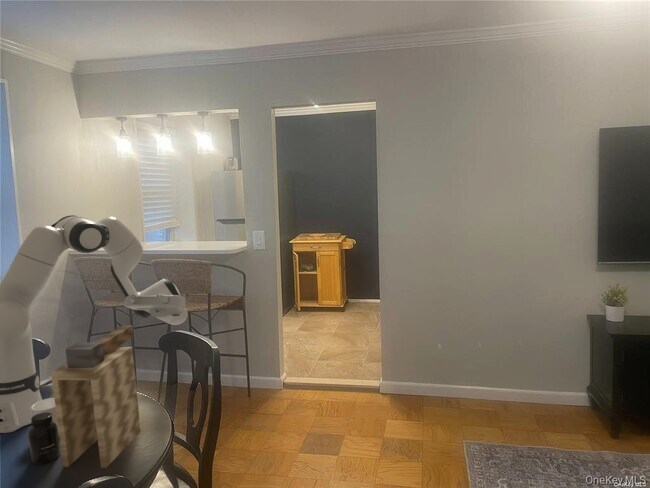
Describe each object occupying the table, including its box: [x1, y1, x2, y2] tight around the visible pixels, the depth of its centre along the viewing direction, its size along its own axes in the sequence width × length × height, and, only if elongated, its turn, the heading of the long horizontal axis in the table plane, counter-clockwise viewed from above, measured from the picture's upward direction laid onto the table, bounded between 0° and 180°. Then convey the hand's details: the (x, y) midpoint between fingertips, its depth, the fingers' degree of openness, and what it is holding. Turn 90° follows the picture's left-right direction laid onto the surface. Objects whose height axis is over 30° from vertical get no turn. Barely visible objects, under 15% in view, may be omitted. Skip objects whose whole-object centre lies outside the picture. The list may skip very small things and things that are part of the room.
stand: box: [50, 346, 142, 469], centre depth 129 cm, size 18×12×26 cm, turn 174°
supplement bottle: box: [27, 412, 61, 465], centre depth 127 cm, size 7×7×12 cm
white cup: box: [31, 397, 59, 436], centre depth 138 cm, size 8×8×10 cm
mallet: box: [65, 324, 135, 368], centre depth 133 cm, size 24×7×5 cm, turn 174°
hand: (144, 296), depth 160 cm, fingers open, 8 cm apart
